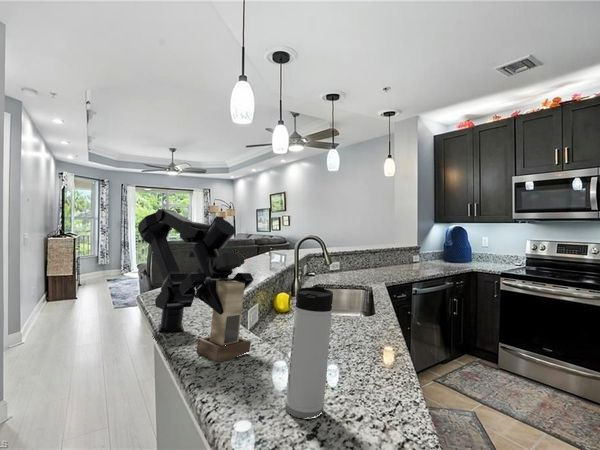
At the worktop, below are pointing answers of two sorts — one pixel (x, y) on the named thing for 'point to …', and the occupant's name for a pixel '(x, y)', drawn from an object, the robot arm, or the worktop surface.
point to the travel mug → (309, 352)
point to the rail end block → (227, 313)
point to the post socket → (222, 349)
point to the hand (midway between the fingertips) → (231, 312)
